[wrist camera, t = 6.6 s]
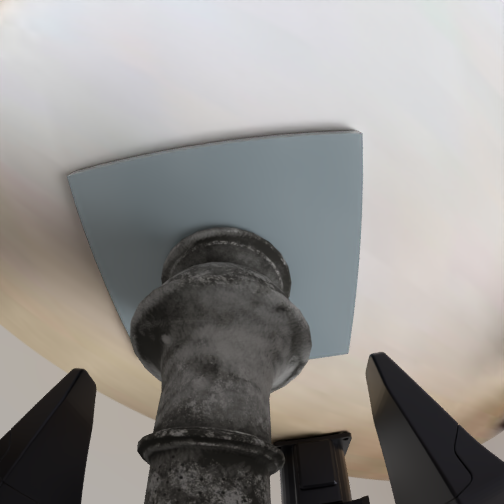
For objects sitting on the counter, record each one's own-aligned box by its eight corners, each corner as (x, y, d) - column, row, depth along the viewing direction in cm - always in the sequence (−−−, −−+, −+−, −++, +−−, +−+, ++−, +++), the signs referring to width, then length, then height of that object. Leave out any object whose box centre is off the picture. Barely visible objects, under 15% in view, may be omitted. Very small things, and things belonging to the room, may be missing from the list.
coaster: (345, 345, 16) (348, 353, 15) (148, 360, 16) (146, 368, 16) (356, 130, 10) (362, 133, 10) (74, 171, 11) (67, 175, 10)
